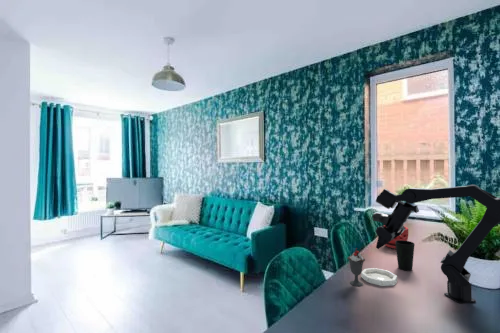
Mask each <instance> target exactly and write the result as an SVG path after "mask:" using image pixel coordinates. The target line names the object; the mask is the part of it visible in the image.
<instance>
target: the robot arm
mask: <svg viewBox="0 0 500 333" xmlns="http://www.w3.org/2000/svg"><path fill="white" fill-rule="evenodd" d="M467 197H468V198H469V197H470V198H471V199H474V200H475V201H476V202H478V203H479V204H481V205H482V206H483V207H486V209H485V212H484V214H483V215H482V218H481V219H480V221H479V222H478V223H477V225H475V227H474V228H473V230H472V231H471V232H470V233H469V235H467V237H466V239H465V240H464V241H463V243H461V245H460V246H459V248H457V249H456V250H455V251H454V252H453V251H452V250H450V249H449V250H448V251H447V253H446V255H445V256H444V257H443V258H442V259H441V261H440V263H441V265H440V270H441V272H442V273H443V275H445V276H446V278H447V281H446V284H447V288H446V289H447V292H444V293H443V294H444V295H445V296H446V297H448V298H449V299H452V300H453V301H455V302H456V303H459V304H466V303H476V302H477V301H476V299H474V298H472V296H473V295H472V283H470V278H471V272H469V271H468V270H467V269H466V268H465V266H466V264H467V261H468V259H469V258H470V257H471V256H472V254H473V253H474V252H475V250H477V248H478V247H479V246H480V244H481V243H482V242H483V241H484V240H485V238H486V237H487V236H488V235H489V233H490V232H491V231H492V230H493V228H495V227H496V226H497V225H499V224H500V197H497V196H495V195H494V194H492V193H490V192H488V191H486V190H484V189H482V188H481V187H480V186H478V185H476V184H470V185H462V186H452V187H451V186H450V187H439V188H437V187H436V188H425V187H424V188H422V187H410V188H406V189H405V190H404V191H403V192H402V193H399V194H395V193H393V192H392V191H390V190H388V189H387V188H384V189H383V190H382V191H381V192H380V193H379V195H377V196H376V199H375V203H377V204H379V205H380V206H382V207H384V208H385V209H388V210H390V209H393V211H392V212H391V213H389V214H386V213H382V212H377V211H376V212H373V214H372V215H371V217H372V221H373V222H377V223H378V222H379V223H382V225H380V226H378V227H377V228H376V229H375V234H376V235H377V237H378V238H377V241H376V245H375V248H376V249H377V250H379V249H381V248H382V247H383V246H386V245H385V244H387V243H388V242H390V241H391V240H393V239H395V238H396V237H398V236H399V235H401V234H402V233H403V232H404V230H405V227H406V226H404V225H405V224H407V222H408V218H409V217H410V215H412V213H415V214H417V213H419V212H420V209H419V206H418V205H413V204H416V203H420V202H424V201H429V200H434V199H435V200H437V199H449V198H450V199H451V198H467ZM385 226H386V227H385Z"/></svg>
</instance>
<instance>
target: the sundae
mask: <svg viewBox="0 0 500 333" xmlns="http://www.w3.org/2000/svg"><path fill="white" fill-rule="evenodd" d="M357 249H358V248H357V247H356V248H355V250H354V251H353V253H352V254H351V255H349V256H348V257H347V260H348V261H349V268H350V272H351V273H352V274H353V275H354V280H350V281H349V284H350V285H352V286H354V287H363V286H364V284H363V282H362V281H360V280H359V275H361V272H362V271H363V266H364V265H363V264H364V263H365V261H366V259H365V258H364V257H363V256H362V253H361V252H360V251H359V250H357Z"/></svg>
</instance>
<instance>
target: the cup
mask: <svg viewBox="0 0 500 333" xmlns="http://www.w3.org/2000/svg"><path fill="white" fill-rule="evenodd" d="M395 244H396V249H395V251H396V260H397V268H398V270H402V271H404V272H409V271H410V272H411V271H412V270H413V266H414V254H415V253H414V252H415V243H414V242H412V241H409V240H407V241H404V240H398V241H395Z"/></svg>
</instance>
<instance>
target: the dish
mask: <svg viewBox="0 0 500 333" xmlns="http://www.w3.org/2000/svg"><path fill="white" fill-rule="evenodd" d="M360 275H361V278H362V279H363V280H364V281H365V282H366V283H369V284H371V285H375V286H380V287H391V286H396V284H397V282H398V275H397V274H395V273H393V272H391V271H389V270H386V269H382V268H376V267H372V268H371V267H370V268H364V269H362V272H361V274H360Z"/></svg>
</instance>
